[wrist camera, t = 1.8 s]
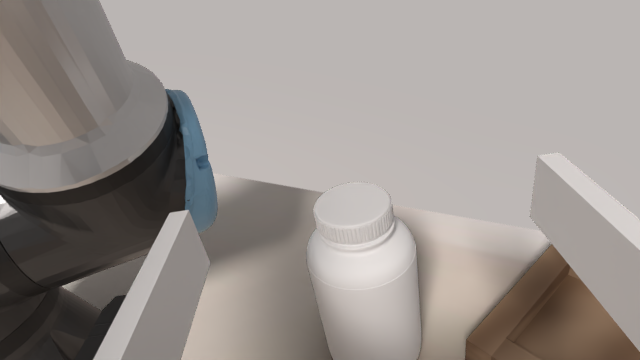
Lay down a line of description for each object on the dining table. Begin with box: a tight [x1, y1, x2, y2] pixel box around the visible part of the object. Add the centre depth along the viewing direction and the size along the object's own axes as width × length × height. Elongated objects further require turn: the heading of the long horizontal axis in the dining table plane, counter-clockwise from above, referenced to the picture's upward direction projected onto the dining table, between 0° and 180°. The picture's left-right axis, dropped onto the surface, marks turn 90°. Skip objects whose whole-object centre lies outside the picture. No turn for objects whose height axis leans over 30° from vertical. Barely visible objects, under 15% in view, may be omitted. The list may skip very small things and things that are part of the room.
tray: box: [465, 245, 640, 360], centre depth 29 cm, size 15×15×3 cm
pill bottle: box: [306, 182, 422, 360], centre depth 30 cm, size 8×8×15 cm
